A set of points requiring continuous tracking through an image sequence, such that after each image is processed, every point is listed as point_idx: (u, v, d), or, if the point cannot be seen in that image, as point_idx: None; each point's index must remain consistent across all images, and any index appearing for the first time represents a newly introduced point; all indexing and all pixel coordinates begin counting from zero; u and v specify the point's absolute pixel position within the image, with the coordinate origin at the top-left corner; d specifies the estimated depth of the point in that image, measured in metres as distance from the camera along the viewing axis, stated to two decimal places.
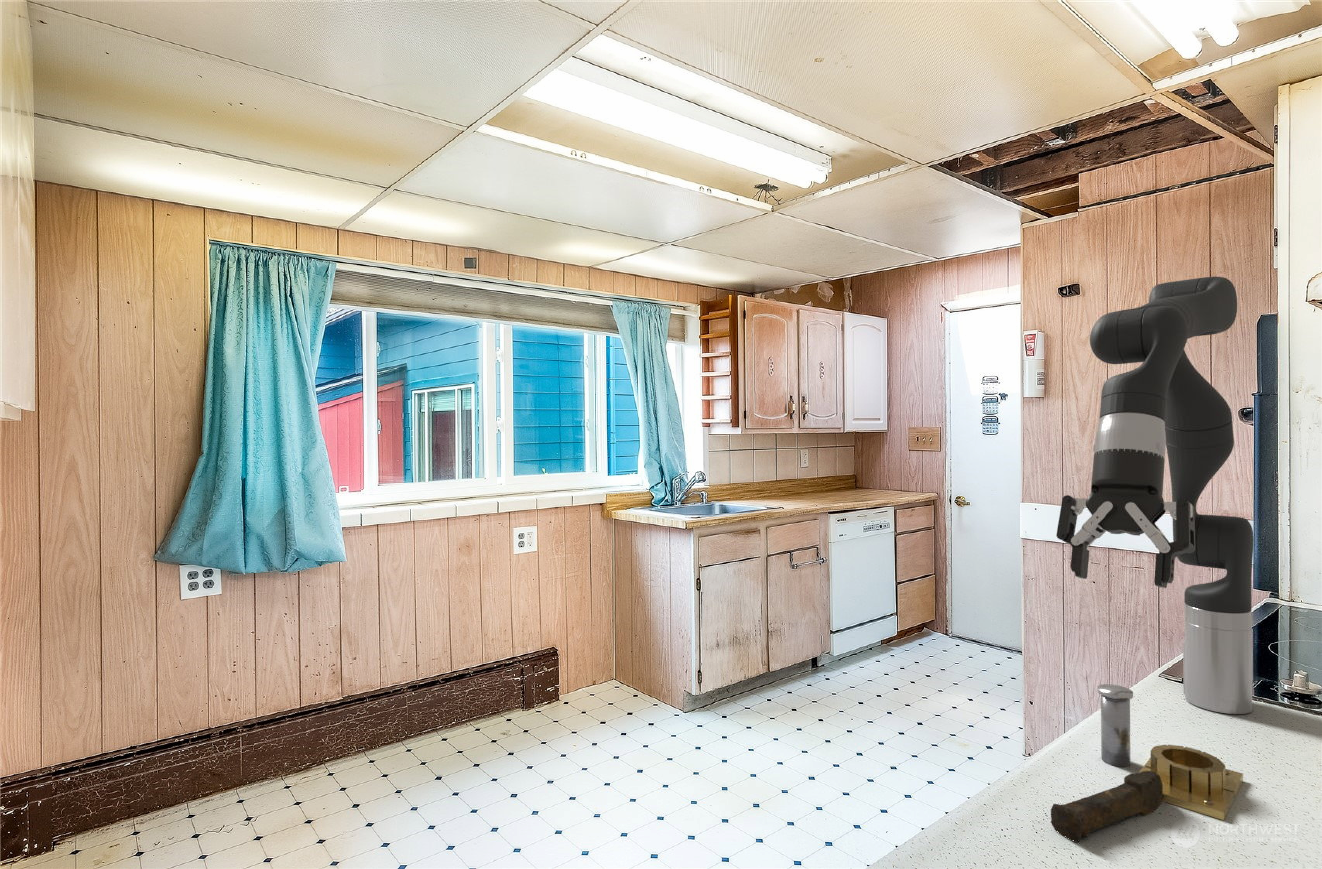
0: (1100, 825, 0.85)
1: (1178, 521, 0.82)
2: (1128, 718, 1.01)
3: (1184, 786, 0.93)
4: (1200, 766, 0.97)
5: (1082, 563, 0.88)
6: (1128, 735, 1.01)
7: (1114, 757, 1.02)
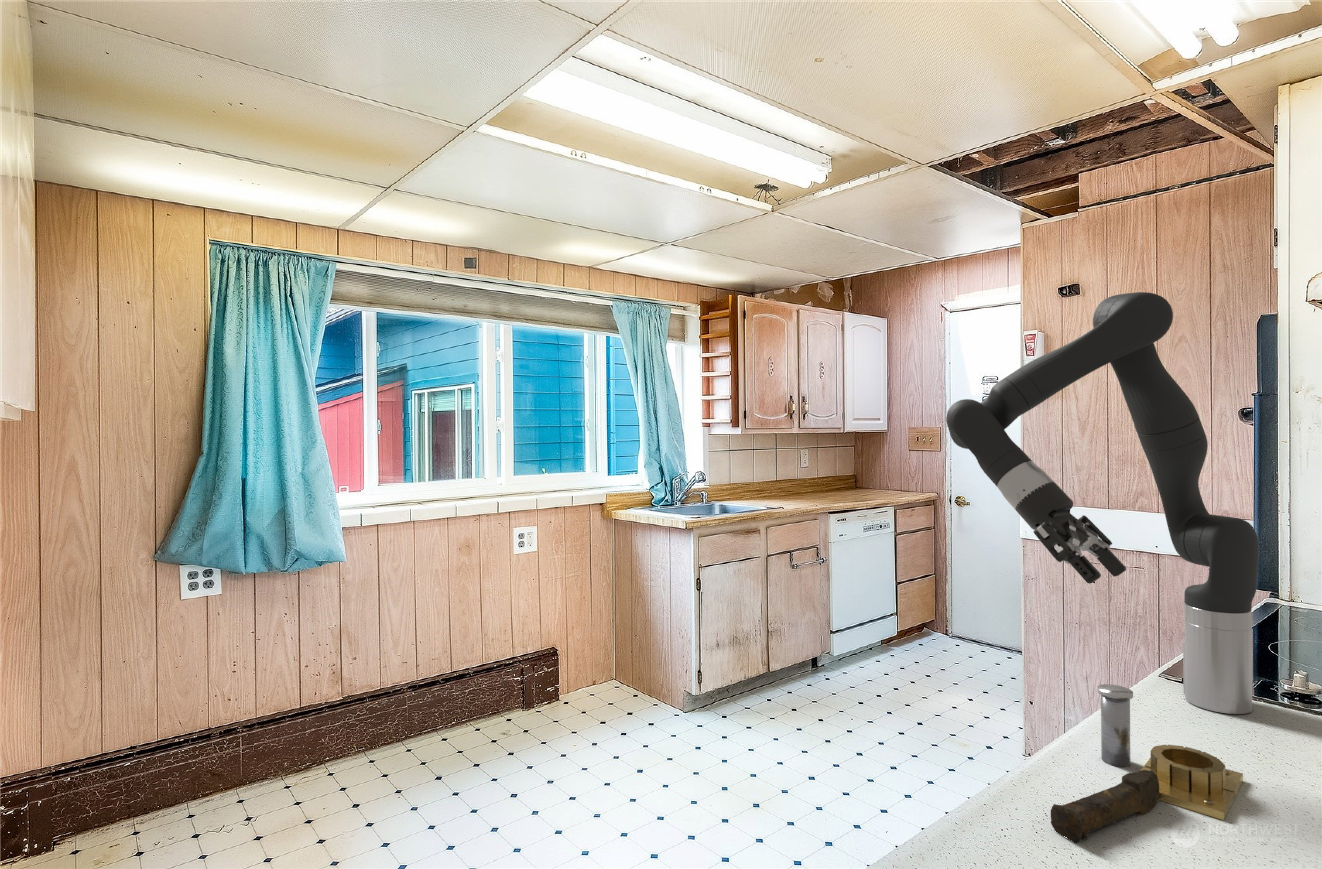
0: (1100, 825, 0.85)
1: None
2: (1128, 718, 1.01)
3: (1184, 786, 0.93)
4: (1200, 766, 0.97)
5: (1107, 568, 1.10)
6: (1128, 735, 1.01)
7: (1114, 757, 1.02)
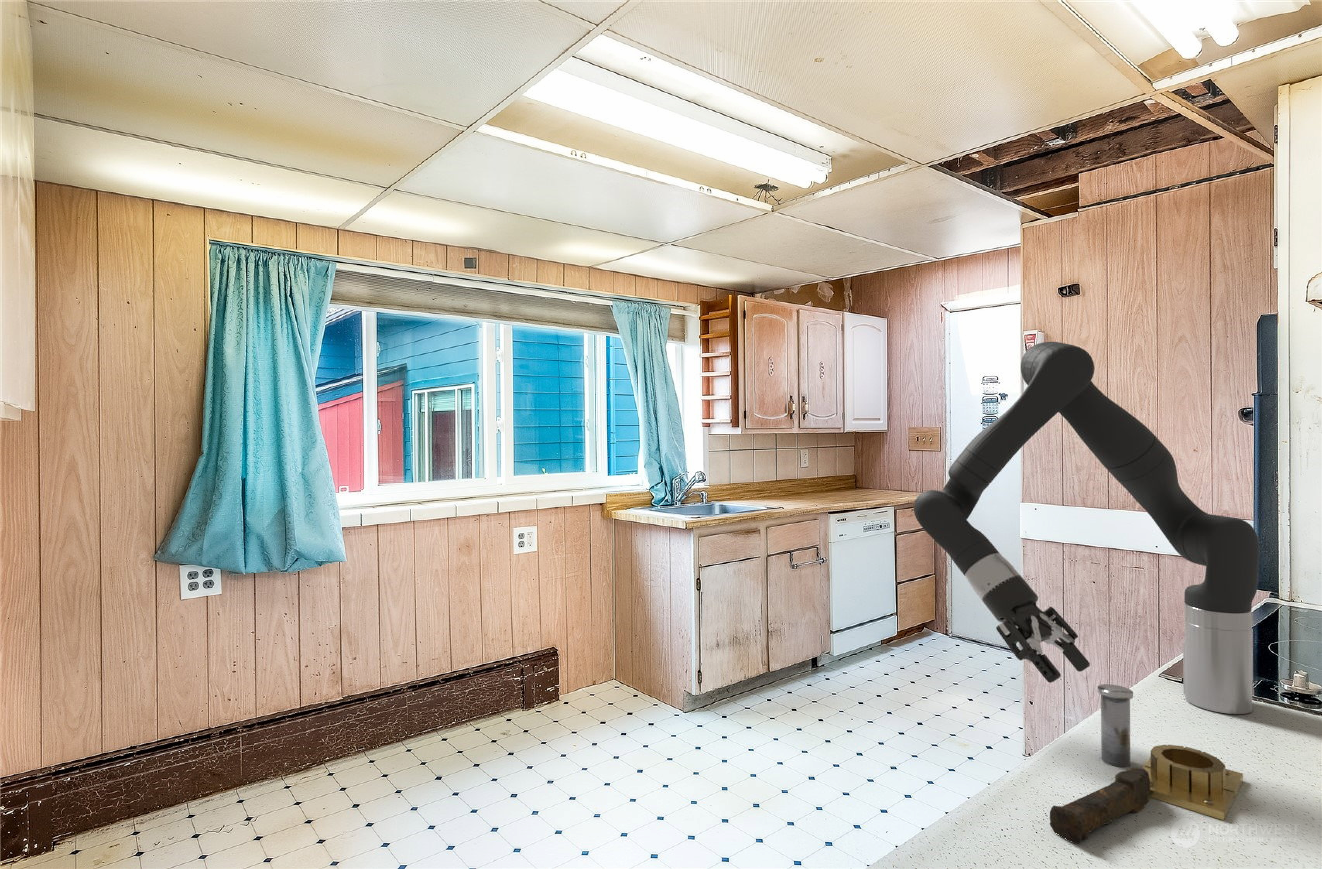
0: (1098, 825, 0.85)
1: None
2: (1128, 718, 1.01)
3: (1184, 786, 0.93)
4: (1200, 766, 0.97)
5: (1072, 662, 1.12)
6: (1128, 735, 1.01)
7: (1114, 757, 1.02)
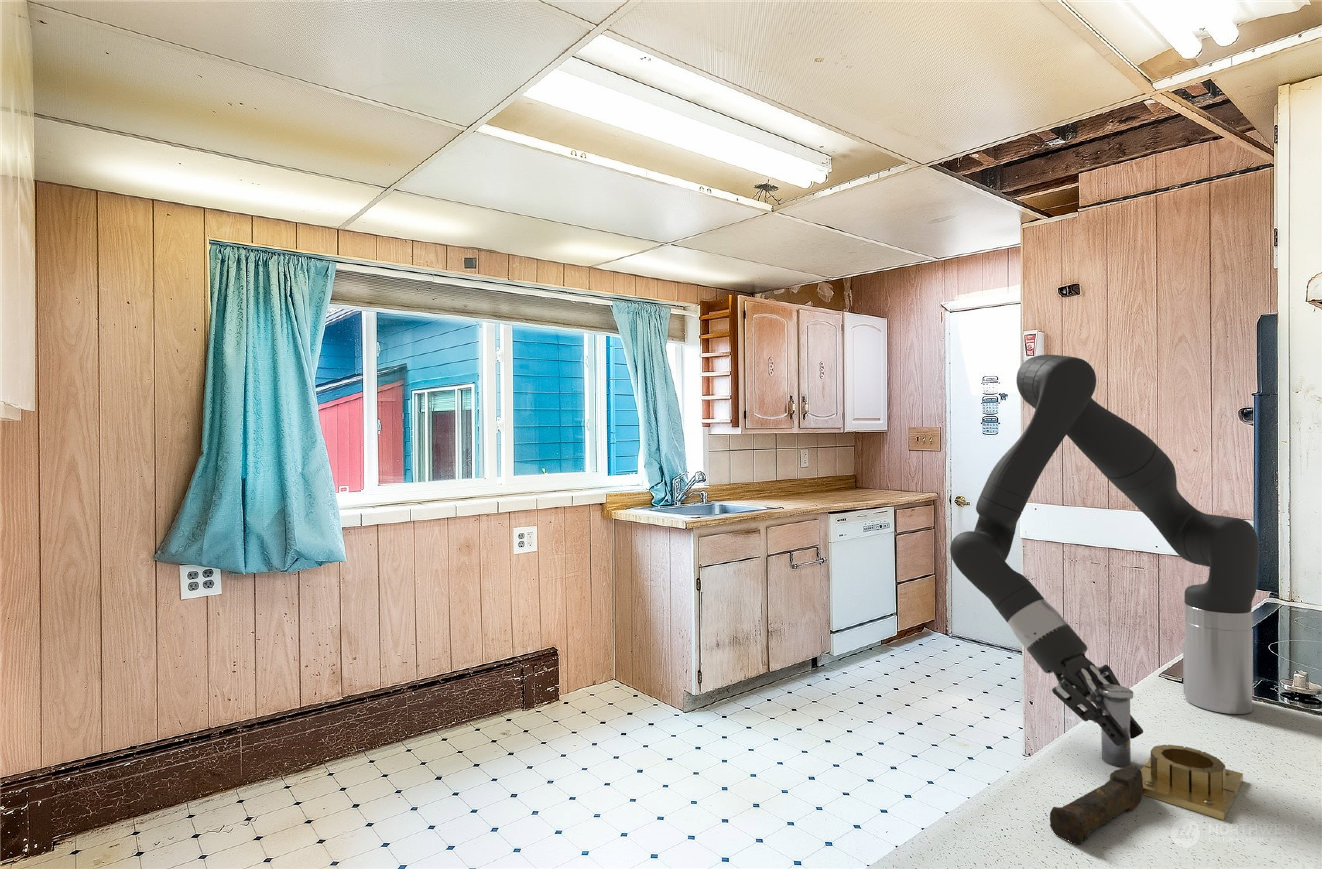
0: (1097, 825, 0.85)
1: None
2: (1128, 718, 1.01)
3: (1184, 786, 0.93)
4: (1200, 766, 0.97)
5: None
6: (1128, 735, 1.01)
7: (1114, 757, 1.02)
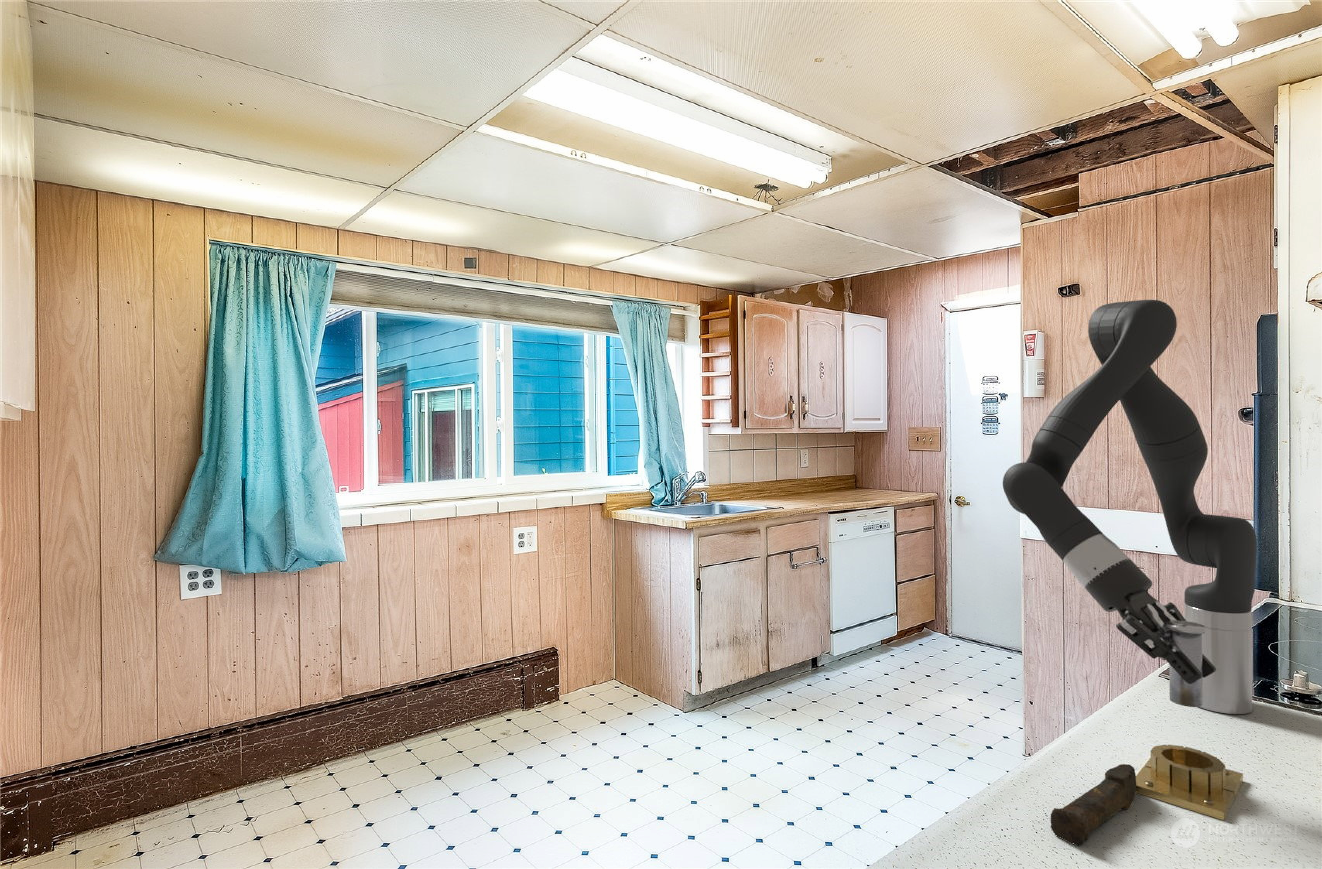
0: (1097, 825, 0.85)
1: None
2: (1200, 654, 0.94)
3: (1184, 786, 0.93)
4: (1200, 766, 0.97)
5: None
6: None
7: (1185, 697, 0.94)
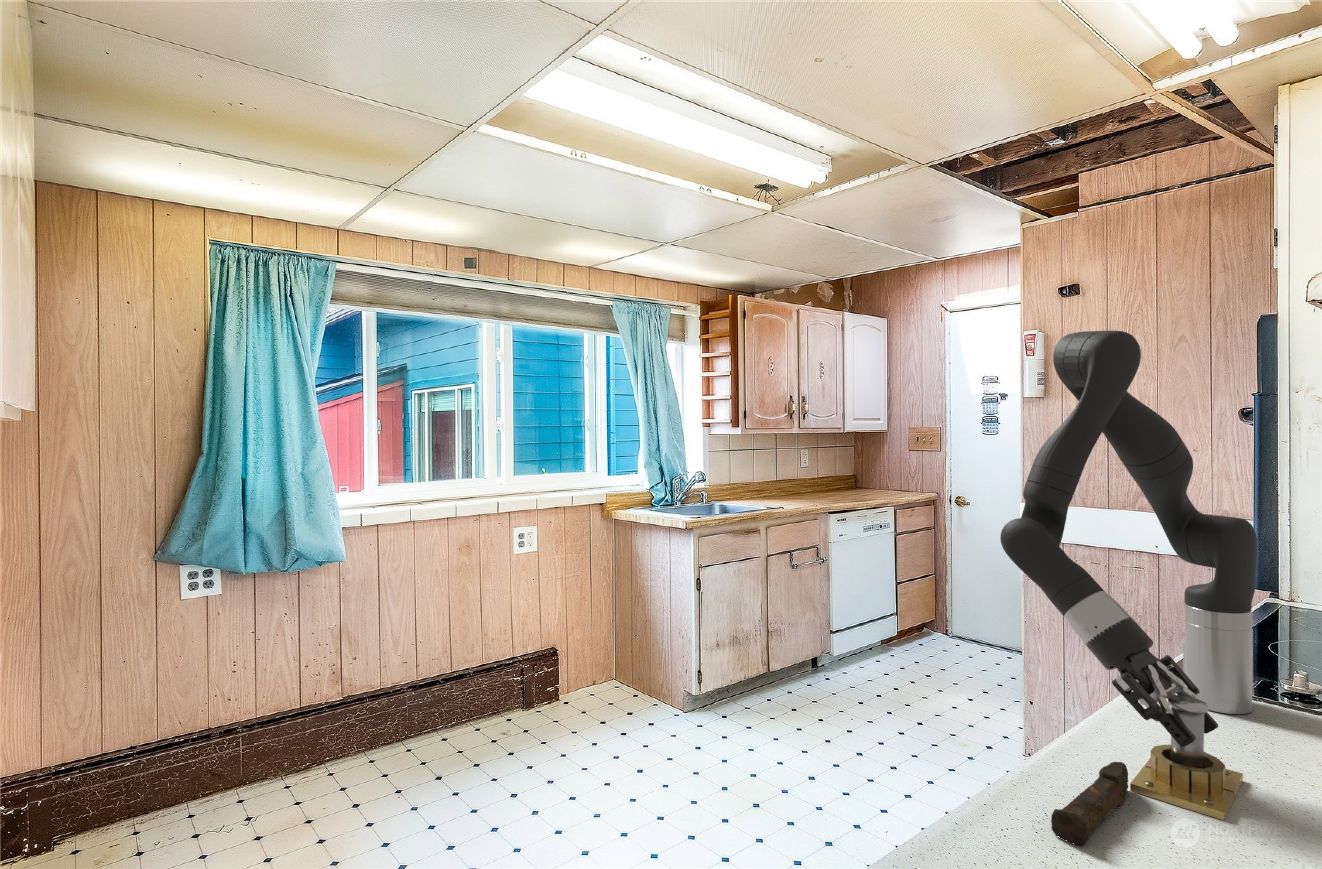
0: (1096, 825, 0.85)
1: None
2: (1202, 733, 0.94)
3: (1184, 786, 0.93)
4: None
5: None
6: (1202, 751, 0.94)
7: None
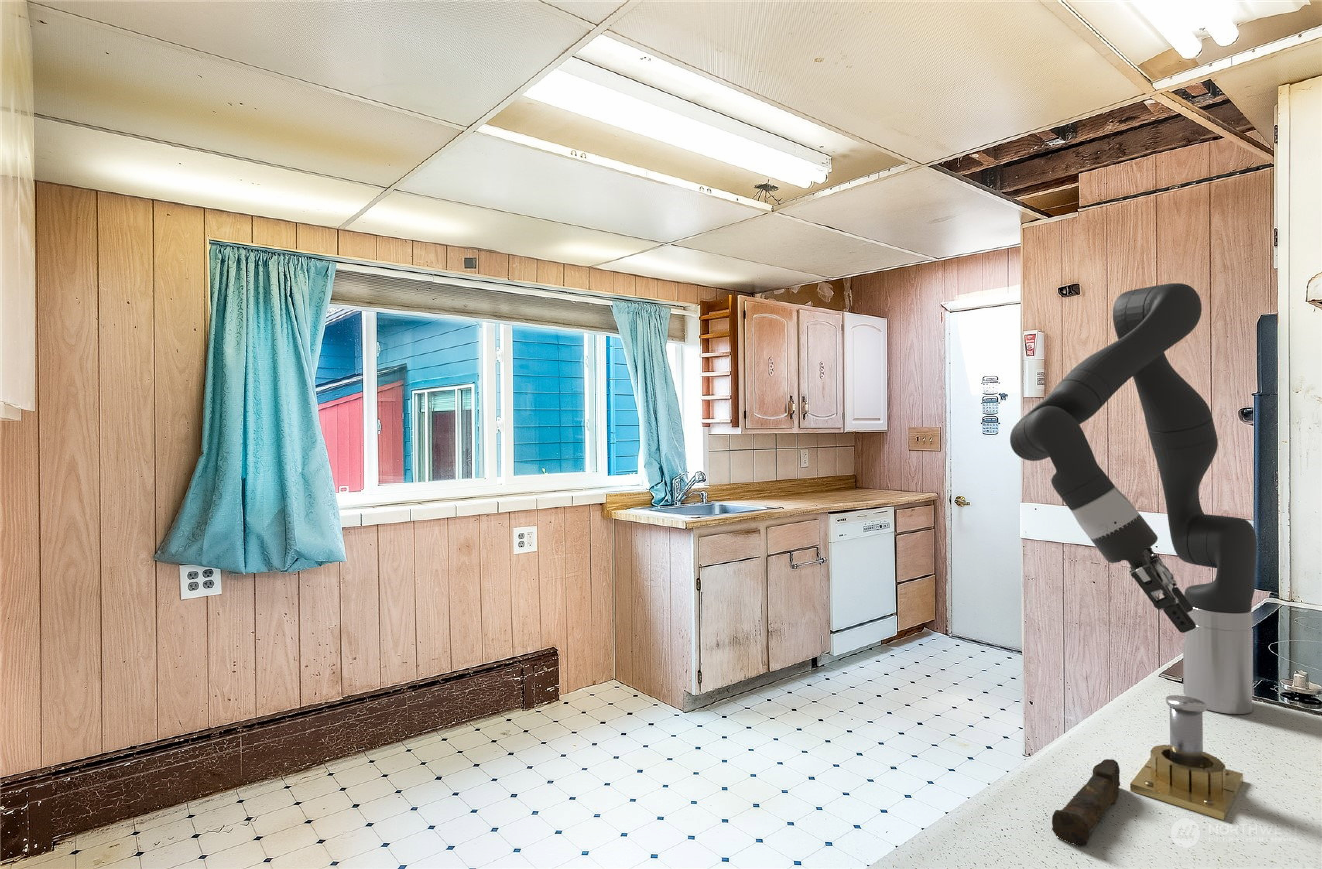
0: (1095, 824, 0.85)
1: None
2: (1201, 732, 0.94)
3: (1184, 786, 0.93)
4: None
5: None
6: (1201, 750, 0.94)
7: None
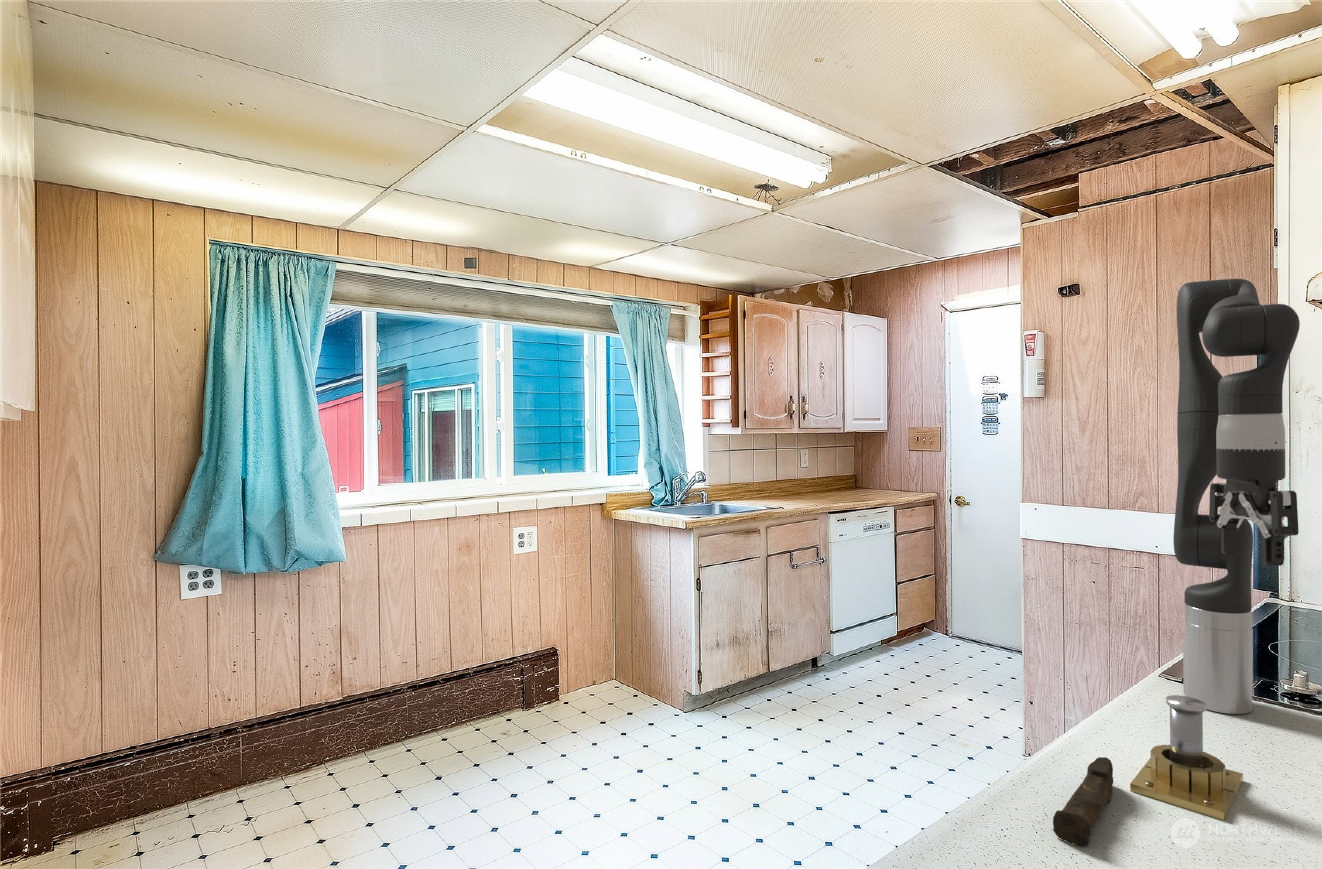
0: (1095, 823, 0.85)
1: (1272, 510, 0.94)
2: (1201, 732, 0.94)
3: (1184, 786, 0.93)
4: None
5: (1226, 543, 1.04)
6: (1201, 750, 0.94)
7: None
